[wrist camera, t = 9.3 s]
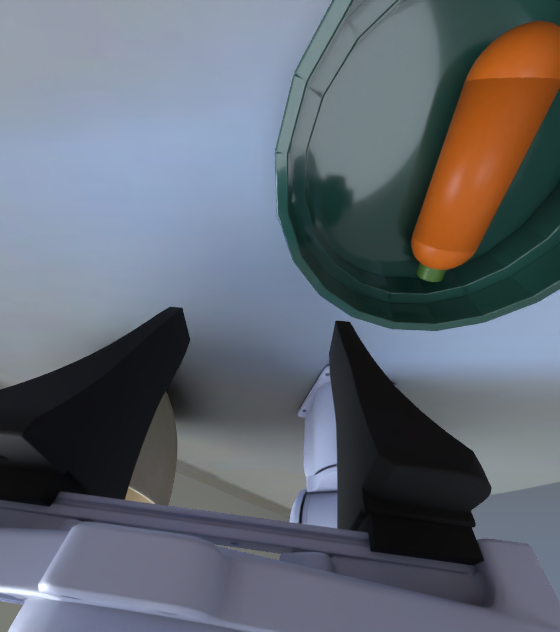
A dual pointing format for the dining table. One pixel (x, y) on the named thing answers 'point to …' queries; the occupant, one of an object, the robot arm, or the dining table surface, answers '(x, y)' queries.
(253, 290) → the dining table surface
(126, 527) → the robot arm
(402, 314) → the green glass bowl
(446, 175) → the carrot
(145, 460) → the beige deep bowl
